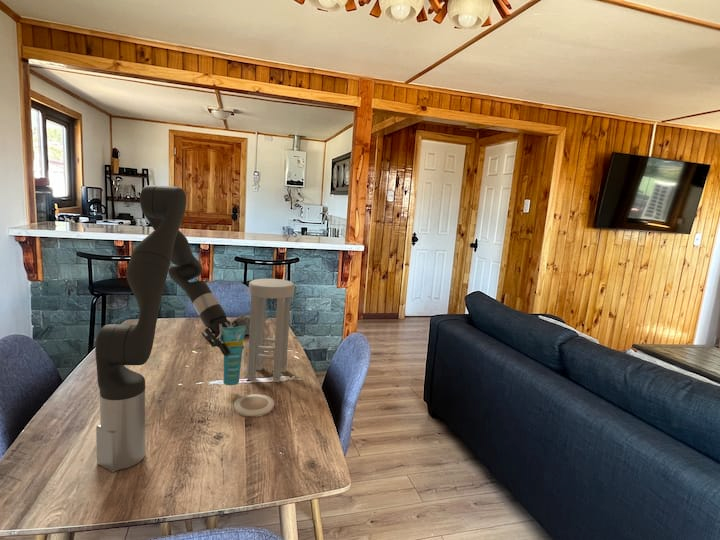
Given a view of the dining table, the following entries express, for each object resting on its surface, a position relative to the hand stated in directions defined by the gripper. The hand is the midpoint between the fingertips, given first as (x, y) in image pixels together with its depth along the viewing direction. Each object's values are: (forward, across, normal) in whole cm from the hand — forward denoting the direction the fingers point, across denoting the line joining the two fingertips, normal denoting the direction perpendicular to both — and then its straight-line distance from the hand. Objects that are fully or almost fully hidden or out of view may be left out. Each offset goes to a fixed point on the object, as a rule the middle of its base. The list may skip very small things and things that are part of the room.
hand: (234, 352), depth 133 cm
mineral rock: (-18, +46, +38) cm, 62 cm away
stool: (+10, +18, +11) cm, 23 cm away
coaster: (+18, -3, +2) cm, 18 cm away
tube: (+7, 0, +8) cm, 11 cm away
